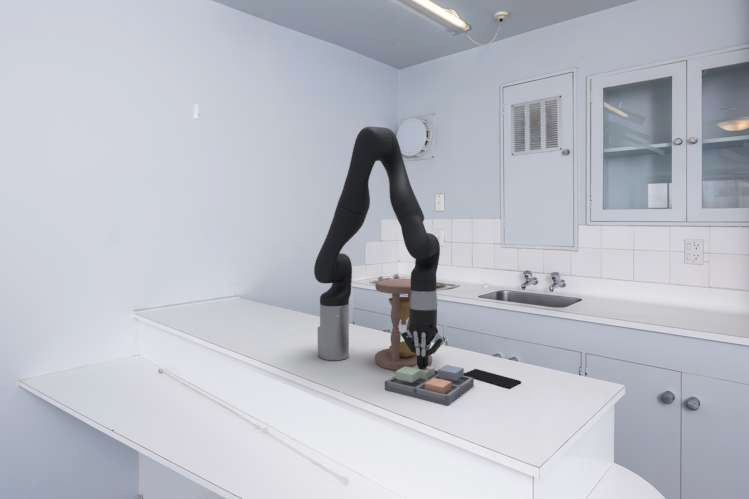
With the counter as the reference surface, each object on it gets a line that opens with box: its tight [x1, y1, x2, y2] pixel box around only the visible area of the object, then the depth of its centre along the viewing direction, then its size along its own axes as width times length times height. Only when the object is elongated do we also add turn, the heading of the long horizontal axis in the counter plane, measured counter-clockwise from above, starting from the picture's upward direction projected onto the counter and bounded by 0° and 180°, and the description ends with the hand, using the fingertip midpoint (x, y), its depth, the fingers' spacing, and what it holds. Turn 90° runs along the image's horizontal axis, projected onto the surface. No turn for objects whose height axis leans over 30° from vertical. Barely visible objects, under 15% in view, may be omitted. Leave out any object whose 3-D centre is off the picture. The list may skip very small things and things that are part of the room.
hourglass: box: [374, 278, 433, 372], centre depth 145 cm, size 18×18×25 cm
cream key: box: [413, 365, 436, 379], centre depth 130 cm, size 5×5×2 cm
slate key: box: [437, 364, 465, 381], centre depth 125 cm, size 5×5×2 cm
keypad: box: [384, 366, 475, 407], centre depth 124 cm, size 18×16×2 cm
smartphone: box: [464, 368, 522, 390], centre depth 131 cm, size 7×1×15 cm
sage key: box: [394, 366, 422, 382], centre depth 123 cm, size 5×5×2 cm
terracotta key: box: [425, 378, 451, 394], centre depth 119 cm, size 5×5×2 cm
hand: (422, 368), depth 129 cm, fingers closed
